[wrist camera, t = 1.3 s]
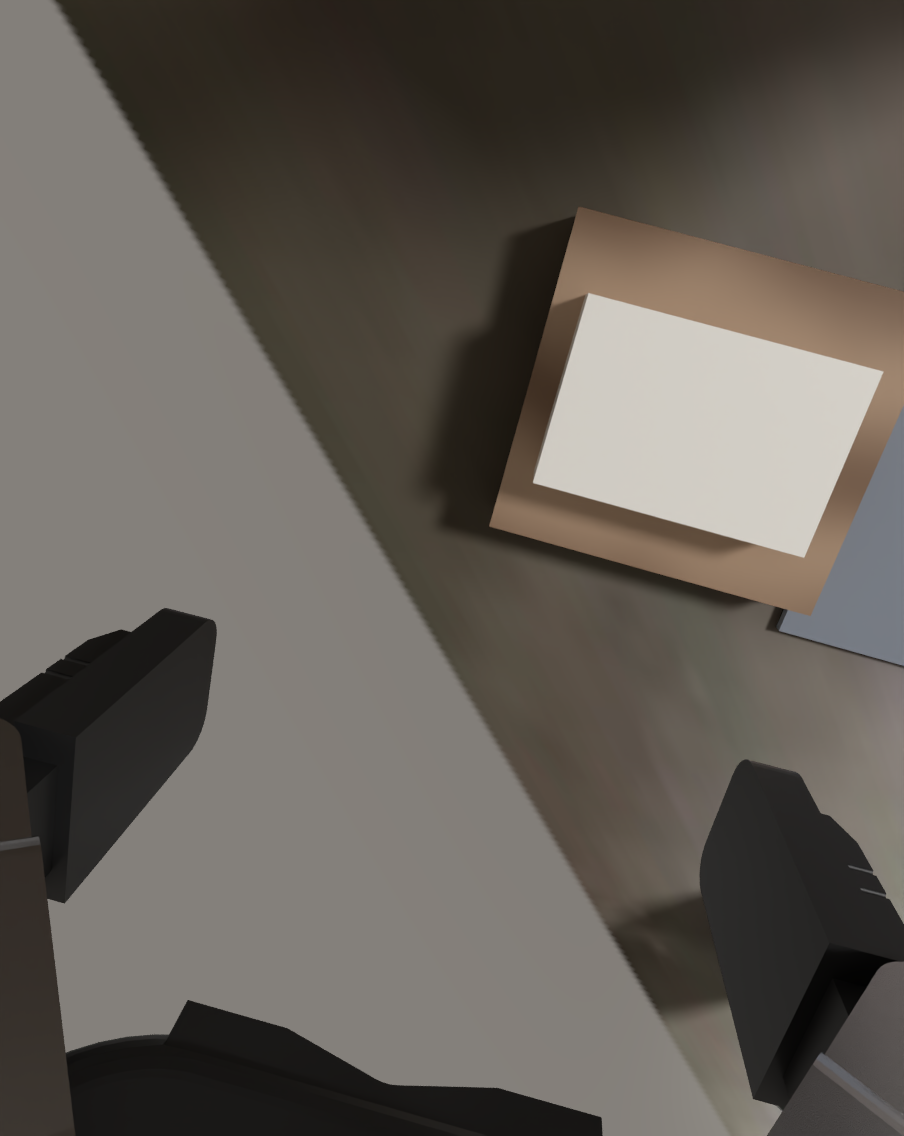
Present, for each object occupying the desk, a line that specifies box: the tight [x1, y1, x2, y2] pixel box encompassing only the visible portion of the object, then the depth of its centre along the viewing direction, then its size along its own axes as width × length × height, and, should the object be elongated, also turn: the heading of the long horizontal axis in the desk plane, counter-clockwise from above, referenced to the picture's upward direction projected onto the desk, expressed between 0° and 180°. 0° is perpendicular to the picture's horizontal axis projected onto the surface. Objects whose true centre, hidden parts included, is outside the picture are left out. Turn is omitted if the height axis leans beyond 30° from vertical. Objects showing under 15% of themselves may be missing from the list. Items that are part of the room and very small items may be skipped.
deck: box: [489, 207, 904, 616], centre depth 28 cm, size 11×12×2 cm
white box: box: [533, 293, 883, 558], centre depth 26 cm, size 6×9×2 cm, turn 76°
